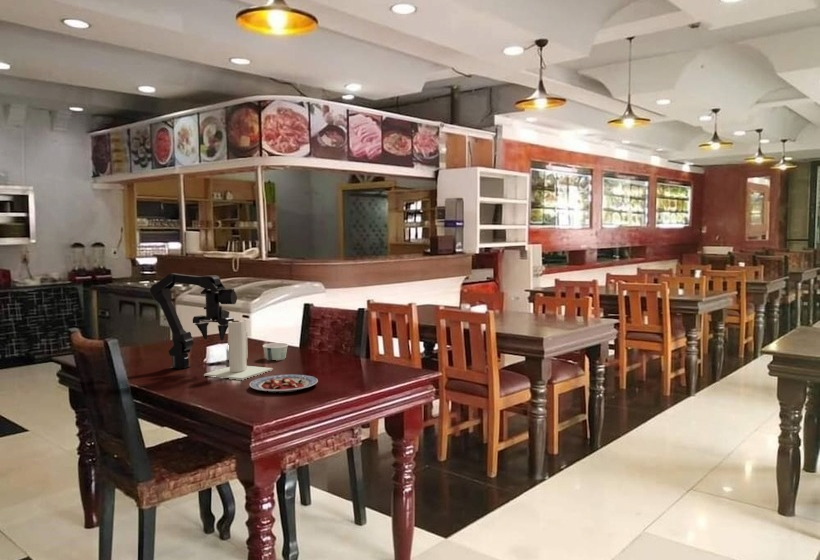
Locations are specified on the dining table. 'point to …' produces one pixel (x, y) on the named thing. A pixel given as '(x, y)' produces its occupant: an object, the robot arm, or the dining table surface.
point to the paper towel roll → (237, 346)
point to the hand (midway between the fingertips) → (213, 339)
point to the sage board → (241, 375)
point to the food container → (275, 351)
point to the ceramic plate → (283, 383)
